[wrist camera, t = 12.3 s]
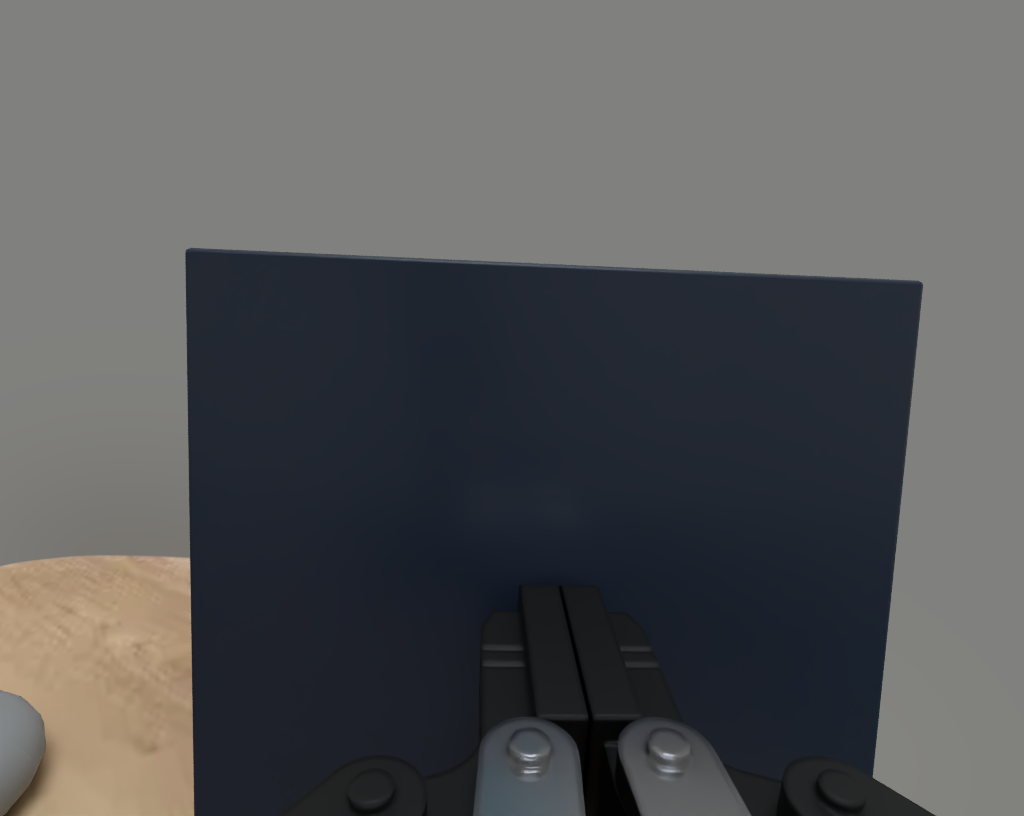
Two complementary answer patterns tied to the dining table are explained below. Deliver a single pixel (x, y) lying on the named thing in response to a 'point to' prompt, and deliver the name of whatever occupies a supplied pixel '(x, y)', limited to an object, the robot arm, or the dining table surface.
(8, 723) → the donut
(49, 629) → the dining table surface
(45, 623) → the dining table surface
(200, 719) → the lid
